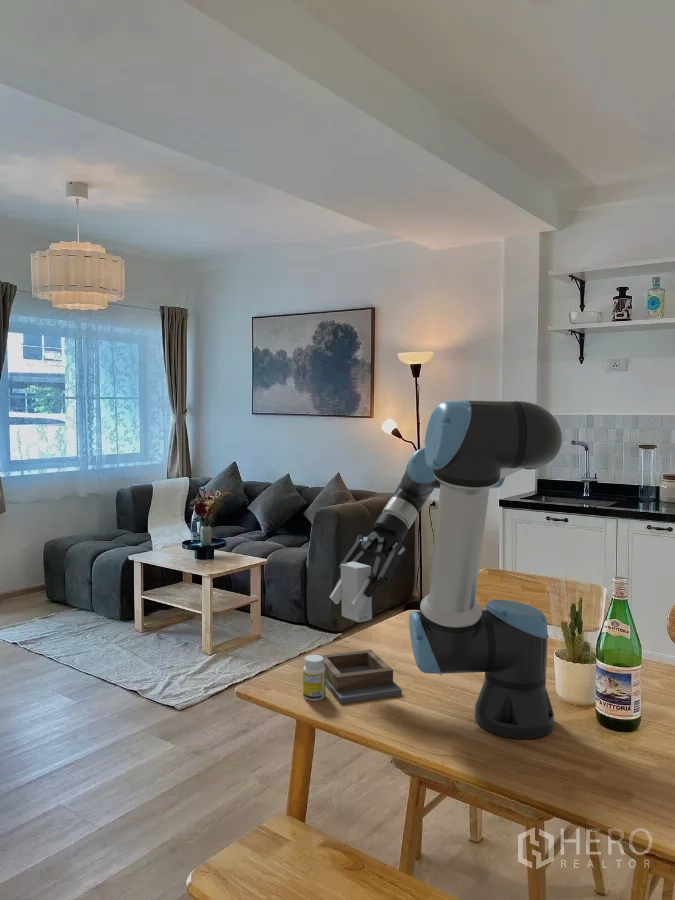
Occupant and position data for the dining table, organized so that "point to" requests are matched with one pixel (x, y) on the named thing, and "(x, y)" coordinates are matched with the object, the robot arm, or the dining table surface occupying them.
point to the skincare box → (354, 590)
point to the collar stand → (358, 676)
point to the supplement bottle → (314, 678)
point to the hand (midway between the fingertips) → (344, 603)
